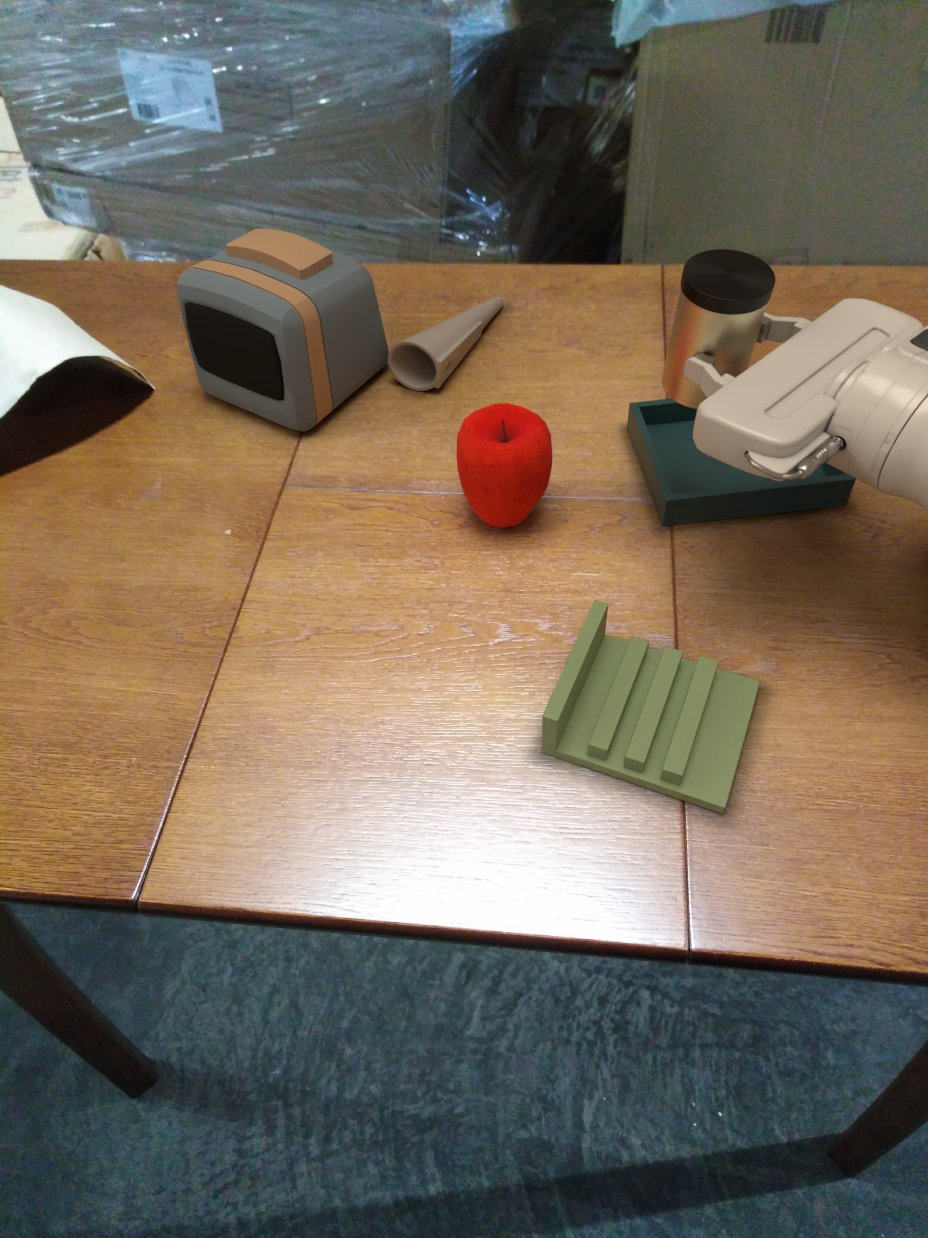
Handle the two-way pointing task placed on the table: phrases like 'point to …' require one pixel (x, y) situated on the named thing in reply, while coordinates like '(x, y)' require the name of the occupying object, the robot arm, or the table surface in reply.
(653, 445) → the tray
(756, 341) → the robot arm
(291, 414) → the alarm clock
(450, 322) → the long tapered cone
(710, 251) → the travel mug
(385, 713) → the table surface
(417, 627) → the table surface
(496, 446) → the apple
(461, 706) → the table surface
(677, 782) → the drying rack
